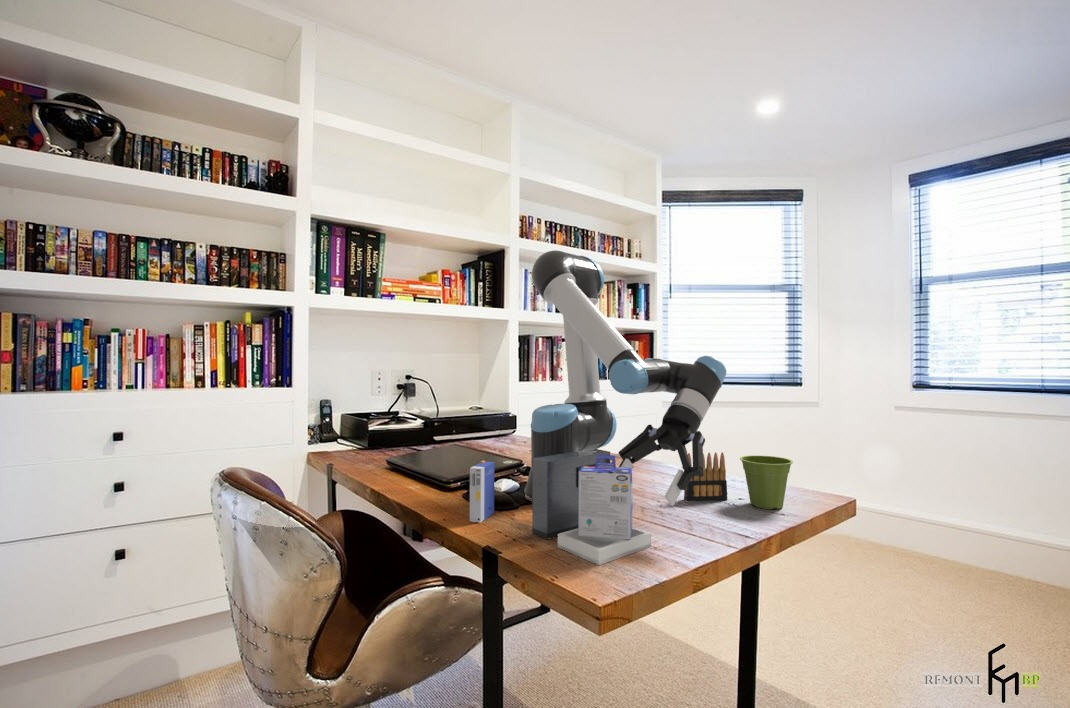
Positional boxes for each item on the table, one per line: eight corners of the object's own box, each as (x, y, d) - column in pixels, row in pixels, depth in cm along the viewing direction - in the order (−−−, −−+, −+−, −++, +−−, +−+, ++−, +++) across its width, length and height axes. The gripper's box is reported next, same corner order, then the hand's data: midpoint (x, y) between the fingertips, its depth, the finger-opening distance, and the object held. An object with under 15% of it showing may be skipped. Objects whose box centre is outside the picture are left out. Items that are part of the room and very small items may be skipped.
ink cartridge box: (632, 530, 97) (632, 455, 98) (632, 541, 92) (632, 460, 92) (580, 527, 99) (581, 452, 100) (577, 537, 94) (578, 458, 94)
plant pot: (786, 500, 128) (786, 455, 128) (799, 514, 117) (799, 465, 117) (736, 497, 131) (736, 453, 131) (744, 511, 119) (744, 462, 119)
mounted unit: (530, 532, 103) (531, 457, 104) (593, 516, 115) (593, 448, 115) (548, 540, 99) (548, 462, 99) (611, 522, 111) (611, 451, 111)
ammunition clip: (724, 498, 130) (724, 451, 130) (727, 500, 128) (727, 452, 128) (683, 499, 129) (683, 452, 129) (686, 501, 127) (686, 453, 127)
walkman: (483, 511, 118) (483, 459, 118) (494, 512, 117) (494, 460, 117) (468, 522, 110) (468, 466, 110) (480, 523, 109) (480, 467, 110)
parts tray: (557, 547, 95) (557, 534, 95) (609, 531, 104) (609, 519, 104) (598, 565, 87) (598, 550, 87) (651, 546, 96) (651, 533, 96)
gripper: (745, 432, 104) (703, 519, 95) (647, 420, 124) (604, 492, 114) (731, 407, 101) (686, 495, 91) (633, 399, 120) (587, 471, 111)
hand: (640, 493), depth 103 cm, fingers open, 13 cm apart
